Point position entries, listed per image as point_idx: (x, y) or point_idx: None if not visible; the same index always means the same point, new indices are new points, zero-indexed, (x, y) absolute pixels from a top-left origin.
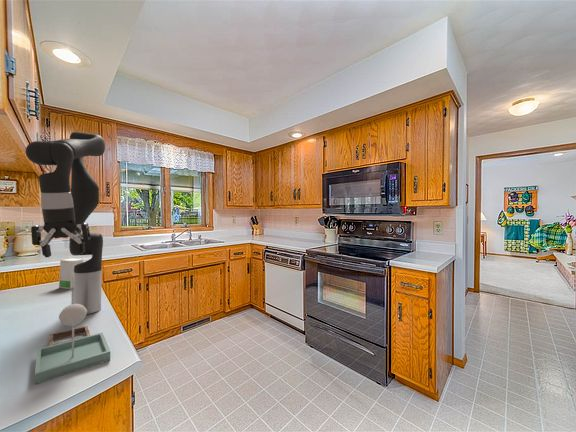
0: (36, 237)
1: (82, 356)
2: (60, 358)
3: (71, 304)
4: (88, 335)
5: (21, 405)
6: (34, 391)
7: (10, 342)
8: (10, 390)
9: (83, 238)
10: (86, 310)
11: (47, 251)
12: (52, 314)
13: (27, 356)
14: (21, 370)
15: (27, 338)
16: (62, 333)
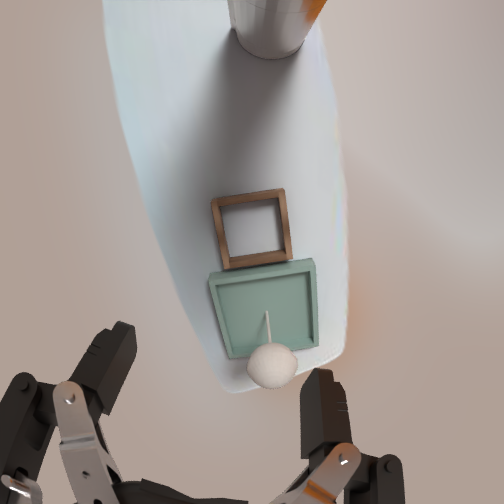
0: (43, 454)
1: (280, 319)
2: (249, 308)
3: (269, 378)
4: (289, 255)
5: (228, 377)
6: (234, 361)
7: (141, 166)
8: (206, 347)
9: (346, 489)
10: (296, 370)
11: (121, 380)
12: (188, 19)
13: (192, 257)
14: (200, 304)
15: (166, 159)
16: (235, 202)
